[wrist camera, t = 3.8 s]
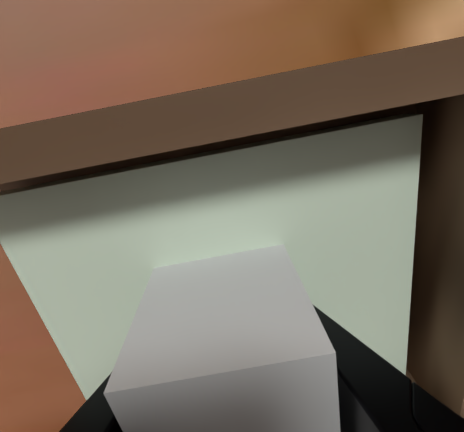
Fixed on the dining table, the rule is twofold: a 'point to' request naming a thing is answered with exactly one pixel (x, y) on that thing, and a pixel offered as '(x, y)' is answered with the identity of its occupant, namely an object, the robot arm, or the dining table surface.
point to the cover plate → (221, 213)
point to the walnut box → (291, 123)
